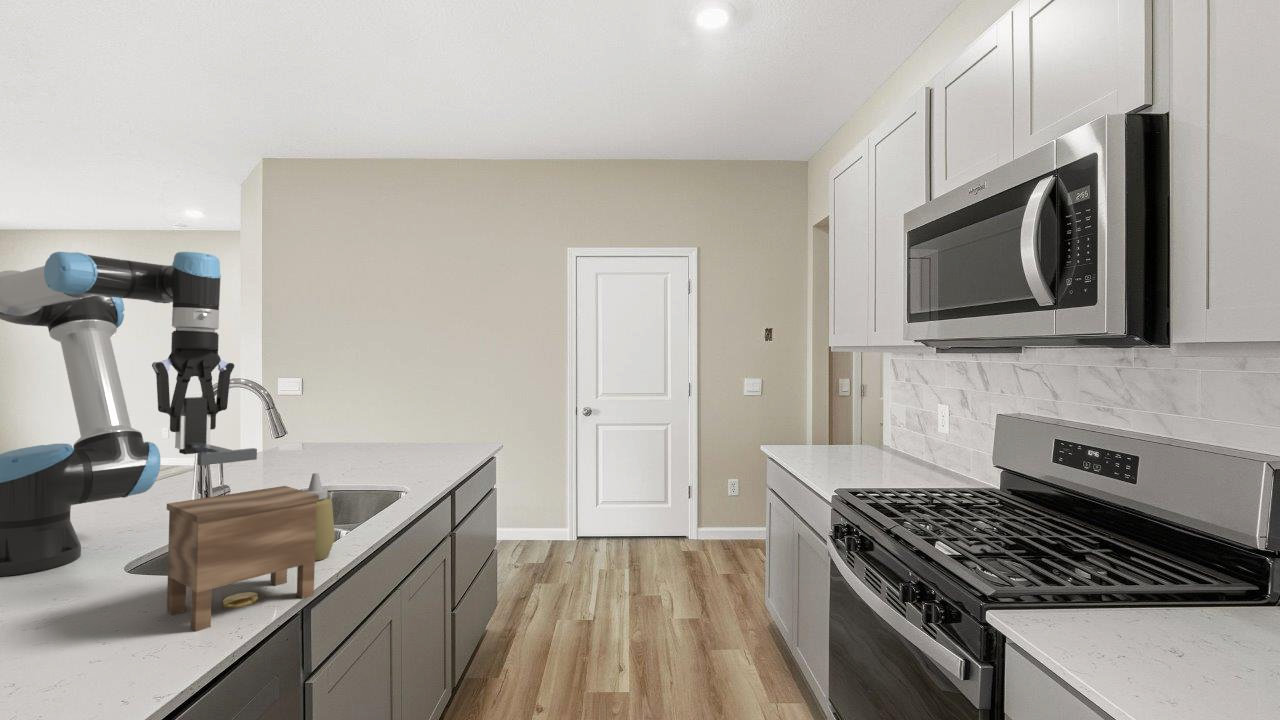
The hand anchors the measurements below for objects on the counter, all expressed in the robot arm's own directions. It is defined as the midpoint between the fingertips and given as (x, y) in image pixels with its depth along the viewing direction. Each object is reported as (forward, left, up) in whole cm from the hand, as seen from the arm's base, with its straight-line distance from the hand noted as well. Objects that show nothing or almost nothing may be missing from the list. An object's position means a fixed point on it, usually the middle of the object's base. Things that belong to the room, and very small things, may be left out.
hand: (192, 446), depth 118 cm
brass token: (+25, -1, -25) cm, 36 cm away
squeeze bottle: (+12, +18, -25) cm, 33 cm away
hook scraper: (+8, 0, -1) cm, 8 cm away
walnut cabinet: (+26, -1, -24) cm, 36 cm away
